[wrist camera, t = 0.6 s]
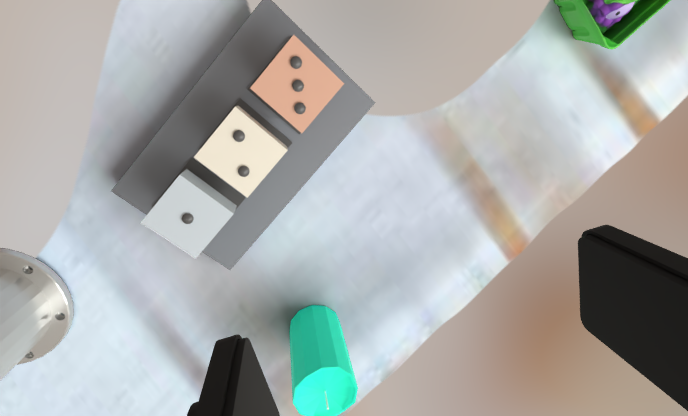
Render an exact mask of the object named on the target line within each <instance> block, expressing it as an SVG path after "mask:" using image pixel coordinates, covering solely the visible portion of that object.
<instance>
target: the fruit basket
mask: <svg viewBox="0 0 688 416" xmlns="http://www.w3.org/2000/svg"><path fill="white" fill-rule="evenodd" d="M669 1H670V0H554V2H555V3H556V4H557V5H558V6H560V7H559V9H560V13H561V15H562V17H563V18H564V20H565V22H566V24H567V26H568V27H569V28H570V29H571V30H572V33H573V37H574V38H575V39H576V40H581V41H586V42H590V43H595V44H599V45H601V46H602V47H605V48H608V49H615V48H617V47H618V46H619V45H620V44H622V43H623V42H624V41H625V40H626V39H627V38H628V37H629V36H630V35H632V34H633V33H634V32H635V31H636V30H637V29H638V28H639V27H641V26H642V25H643V24H644V23H645V22H646V21H648V20H649V19H650V18H651V17H652V16H653V15H654V14H656V13H657V12H658V11H659V10H660V9H661V8H663V7H664V6H665V5H666V4H667V3H668V2H669Z"/></svg>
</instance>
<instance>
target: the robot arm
mask: <svg viewBox="0 0 688 416" xmlns="http://www.w3.org/2000/svg"><path fill="white" fill-rule="evenodd" d="M578 257H579V286H580V316H581V321H582V323H583V325H584V327H585V328H586V329H587V330H588V331H589V332H590V333H591V334H593V335H594V336H595V337H596V338H598V339H599V340H600V341H601V342H603V343H604V344H605V345H606V346H608V347H609V348H610V349H611V350H613V351H614V352H615V353H616V354H618V355H619V356H620V357H621V358H623V359H624V360H625V361H626V362H627V363H629V364H630V365H631V366H633V367H634V368H635V369H636V370H638V371H639V372H640V373H641V374H642V375H644V376H645V377H646V378H647V379H649V380H650V381H651V382H652V383H654V384H655V385H656V386H657V387H659V388H660V389H661V390H662V391H664V392H665V393H666V394H667V395H669V396H670V397H671V398H672V399H674V400H675V401H676V402H677V403H678V404H680V405H681V406H682V407H683V408H685V409H686V410H687V411H688V258H686V257H683V256H681V255H678V254H676V253H674V252H671V251H669V250H667V249H664V248H662V247H660V246H657V245H655V244H653V243H650V242H647V241H645V240H643V239H641V238H638V237H636V236H634V235H631V234H629V233H627V232H624V231H622V230H619V229H617V228H615V227H612V226H609V225H603V226H600V227H597V228H593V229H590V230H587V231H585V232H583V234H582V237H581V238H580V239H579V241H578ZM73 316H74V309H73V301H72V298H71V294H70V292H69V290H68V288H67V287H66V285H65V283H64V282H63V281H62V279H61V278H60V277H59V276H58V275H57V274H56V273H55V272H54V271H53V270H52V269H51V268H49V267H48V266H47V265H45V264H44V263H42V262H41V261H39V260H37V259H36V258H34V257H31V256H29V255H26V254H24V253H21V252H18V251H14V250H10V249H5V248H0V381H1V380H2V379H3V378H4V377H5V376H6V375H7V374H8V373H9V372H10V371H11V370H12V369H13V368H14V367H15V366H16V365H18V364H22V363H27V362H31V361H33V360H36V359H38V358H40V357H43V356H44V355H46V354H47V353H49V352H50V351H52V350H53V349H54V348H55V347H56V346H57V345H58V344H59V343H60V342H61V341H62V339H63V338H64V337H65V336H66V334H67V333H68V331H69V329H70V327H71V325H72V320H73ZM187 416H280V415H279V412H278V409H277V407H276V404H275V402H274V399H273V397H272V394H271V392H270V389H269V387H268V384H267V382H266V379H265V377H264V374H263V372H262V369H261V367H260V365H259V362H258V360H257V357H256V355H255V352H254V350H253V347H252V345H251V342H250V340H249V339H248V338H244V339H242V338H241V336H240V335H234V336H231V337H227V338H224V339H221V340H218V341H216V343H215V346H214V350H213V353H212V357H211V360H210V364H209V367H208V371H207V374H206V378H205V381H204V385H203V388H202V392H201V395H200V399H199V402H196V403H193V404H192V405H191V407H190V409H189V411H188V414H187Z"/></svg>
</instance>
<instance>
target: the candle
mask: <svg viewBox="0 0 688 416" xmlns="http://www.w3.org/2000/svg"><path fill="white" fill-rule="evenodd" d="M289 335H290V355H291V375H292V395H293V404H294V405H295V407H296V409H297V411H298V412H299V414H301V415H305V416H337V415H339V414H340V413H342V412H344V411H345V410H346V409H348V408H349V407H350V406H351V405H352V404H354V403H355V400H356V395H357V389H358V387H357V383H356V380H355V376H354V372H353V369H352V365H351V361H350V358H349V354H348V350H347V347H346V343H345V339H344V336H343V332H342V328H341V325H340V322H339V319H338V317H337V315H336V313H335V312H334V311H333V310H331V309H329V308H328V307H326V306H320V305H311V306H308V307H306V308H304V309H301V310H299V311H298V312H297V314H296V315H295V316H294V317H293V318H292V320H291V324H290V331H289Z"/></svg>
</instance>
